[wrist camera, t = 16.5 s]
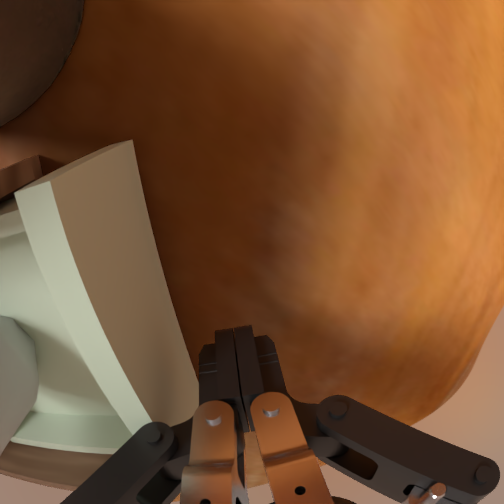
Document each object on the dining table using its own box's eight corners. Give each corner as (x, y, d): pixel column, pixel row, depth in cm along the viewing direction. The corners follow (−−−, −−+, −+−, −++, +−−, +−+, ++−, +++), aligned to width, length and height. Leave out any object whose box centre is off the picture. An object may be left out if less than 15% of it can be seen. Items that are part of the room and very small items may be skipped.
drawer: (-76, 216, 11) (-150, 272, 4) (132, 139, 12) (49, 181, 5) (32, 414, 18) (8, 485, 12) (210, 412, 19) (215, 509, 13)
